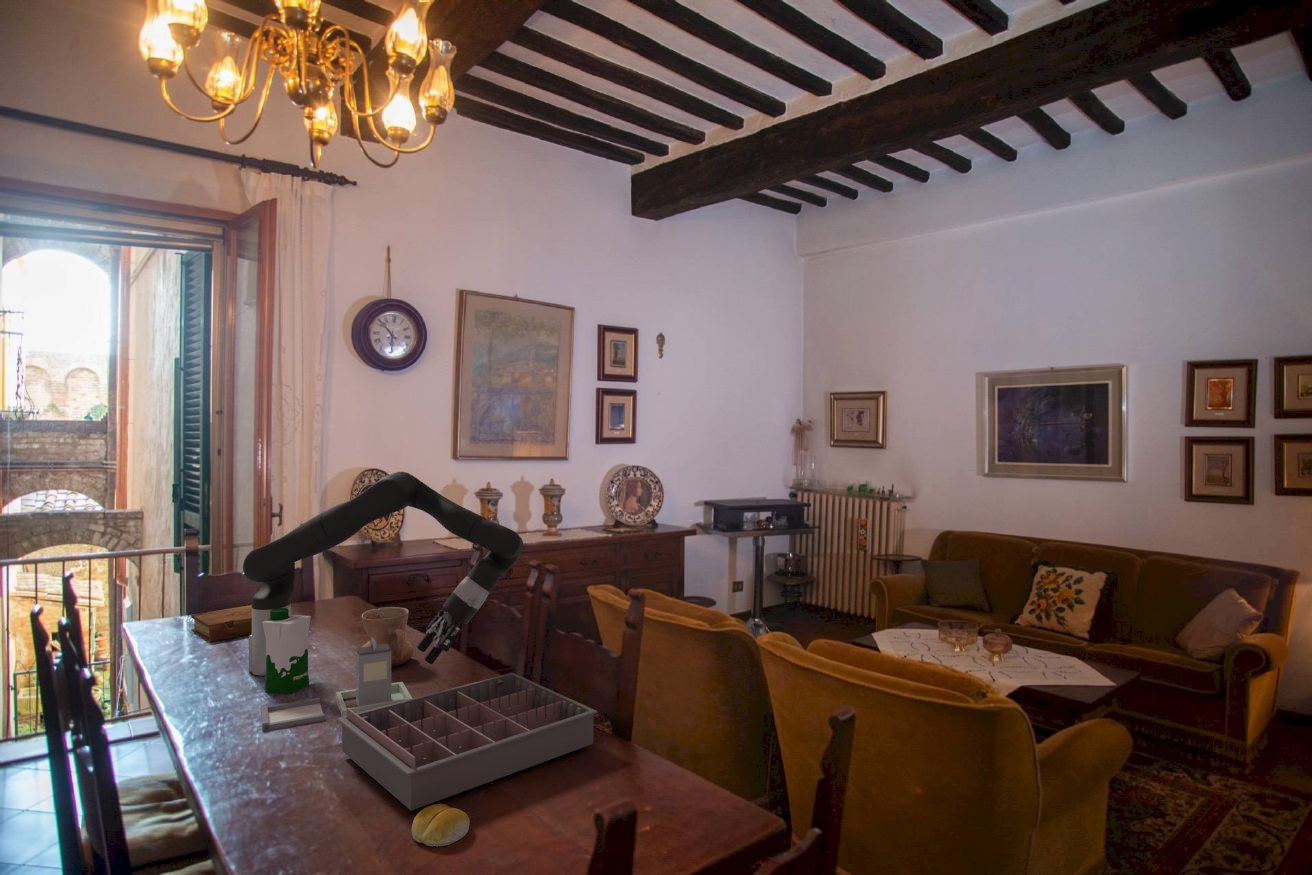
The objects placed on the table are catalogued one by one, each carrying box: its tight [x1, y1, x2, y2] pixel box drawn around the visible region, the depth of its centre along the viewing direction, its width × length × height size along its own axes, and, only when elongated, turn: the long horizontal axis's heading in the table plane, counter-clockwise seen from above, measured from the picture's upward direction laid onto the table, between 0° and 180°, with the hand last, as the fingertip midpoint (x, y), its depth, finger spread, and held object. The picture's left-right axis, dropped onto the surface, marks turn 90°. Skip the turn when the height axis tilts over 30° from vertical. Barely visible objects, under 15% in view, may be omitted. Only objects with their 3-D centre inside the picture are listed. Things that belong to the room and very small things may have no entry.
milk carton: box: [262, 608, 312, 695], centre depth 181 cm, size 9×9×20 cm
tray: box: [335, 681, 413, 717], centre depth 173 cm, size 15×13×2 cm
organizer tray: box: [336, 672, 599, 811], centre depth 148 cm, size 32×40×10 cm
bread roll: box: [411, 803, 471, 848], centre depth 119 cm, size 8×9×4 cm
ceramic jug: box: [361, 606, 414, 668], centre depth 203 cm, size 18×14×14 cm
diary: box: [190, 604, 252, 643], centre depth 237 cm, size 23×19×6 cm
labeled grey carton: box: [355, 637, 392, 707], centre depth 173 cm, size 7×5×15 cm
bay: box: [260, 697, 326, 732], centre depth 164 cm, size 12×12×2 cm
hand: (423, 655), depth 179 cm, fingers open, 8 cm apart
